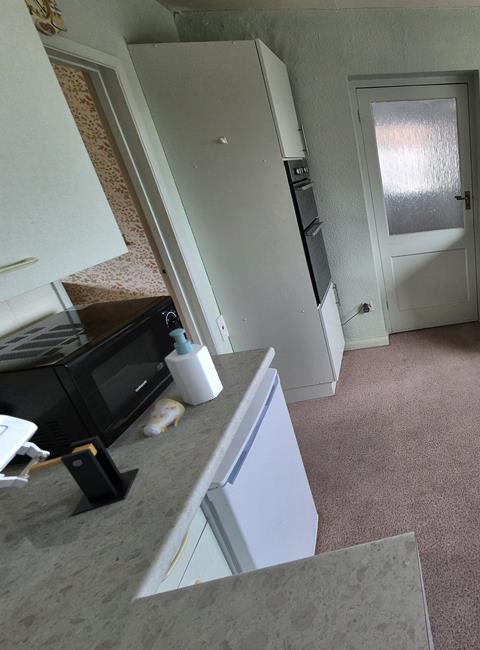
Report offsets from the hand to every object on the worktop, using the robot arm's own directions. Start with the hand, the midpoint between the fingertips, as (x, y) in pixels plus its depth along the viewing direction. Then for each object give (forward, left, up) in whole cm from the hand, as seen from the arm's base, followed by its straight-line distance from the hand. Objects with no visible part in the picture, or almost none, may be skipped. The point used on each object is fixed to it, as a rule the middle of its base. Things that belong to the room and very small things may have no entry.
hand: (37, 469), depth 76 cm
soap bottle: (+21, +33, -12) cm, 41 cm away
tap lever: (+4, 0, -1) cm, 4 cm away
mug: (+14, +21, -12) cm, 28 cm away
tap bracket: (+8, 0, -11) cm, 14 cm away
